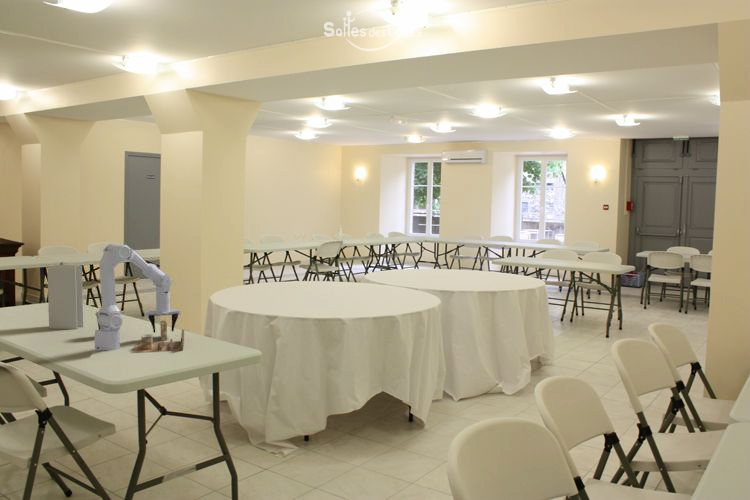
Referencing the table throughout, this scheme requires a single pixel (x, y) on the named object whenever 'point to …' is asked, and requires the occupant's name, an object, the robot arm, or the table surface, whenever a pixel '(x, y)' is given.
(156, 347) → the walnut rack
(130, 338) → the table surface
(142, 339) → the upper offcut
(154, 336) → the slate mat
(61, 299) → the tall grey upright box
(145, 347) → the block
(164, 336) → the plywood sheet
